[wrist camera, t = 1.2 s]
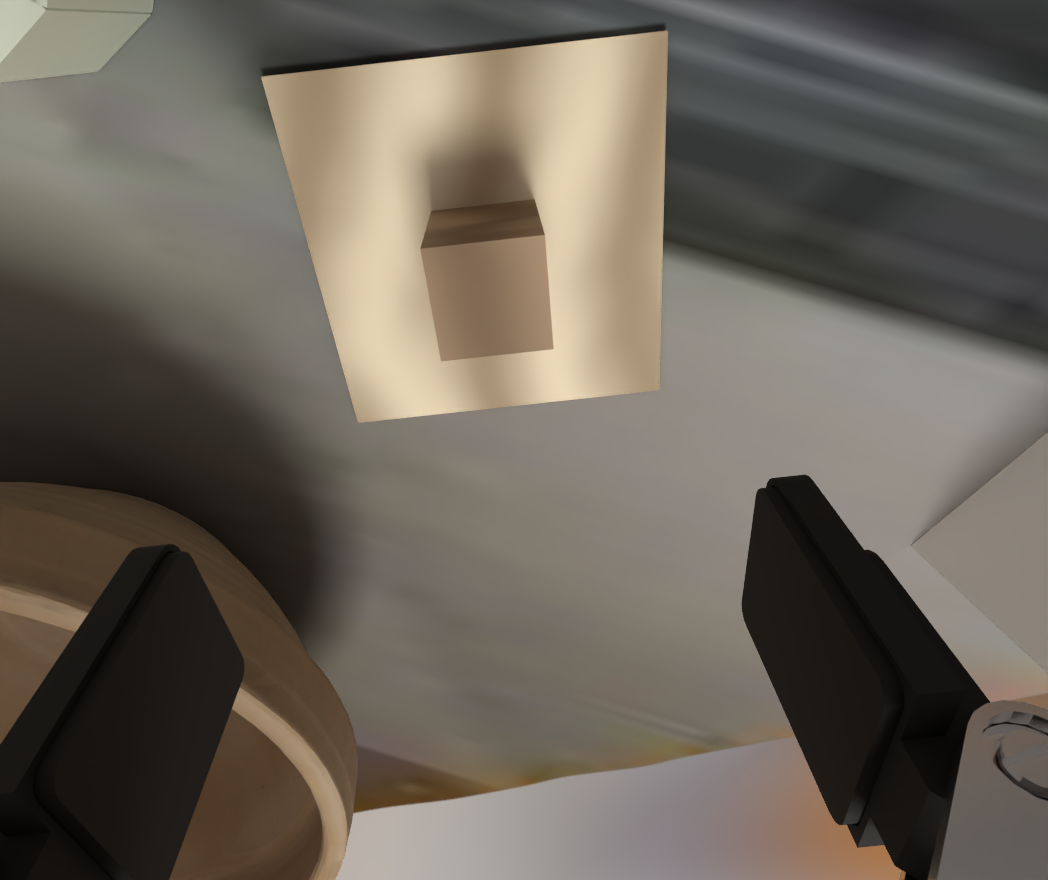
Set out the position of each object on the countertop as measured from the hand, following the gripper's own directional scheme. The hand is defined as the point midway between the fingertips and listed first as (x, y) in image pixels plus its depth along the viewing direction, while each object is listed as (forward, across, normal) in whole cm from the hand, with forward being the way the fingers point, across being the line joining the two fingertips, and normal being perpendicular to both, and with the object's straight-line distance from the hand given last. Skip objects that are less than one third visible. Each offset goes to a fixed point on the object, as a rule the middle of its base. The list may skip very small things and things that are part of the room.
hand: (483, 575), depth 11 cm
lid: (+19, 0, 0) cm, 19 cm away
